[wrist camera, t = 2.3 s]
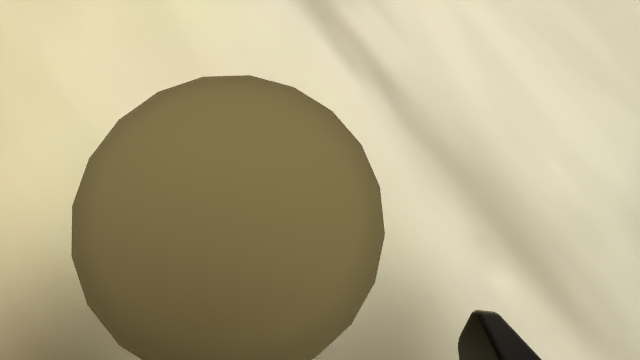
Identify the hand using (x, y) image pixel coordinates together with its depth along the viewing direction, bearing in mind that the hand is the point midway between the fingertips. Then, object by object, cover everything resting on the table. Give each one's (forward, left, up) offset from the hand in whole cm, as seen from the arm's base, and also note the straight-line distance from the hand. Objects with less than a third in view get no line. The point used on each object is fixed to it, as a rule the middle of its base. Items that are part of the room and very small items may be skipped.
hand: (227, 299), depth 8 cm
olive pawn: (+1, +1, -9) cm, 9 cm away
